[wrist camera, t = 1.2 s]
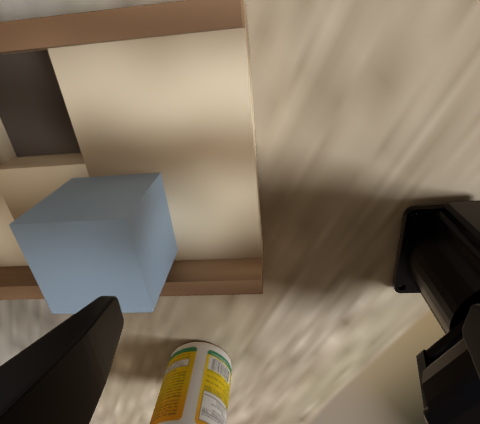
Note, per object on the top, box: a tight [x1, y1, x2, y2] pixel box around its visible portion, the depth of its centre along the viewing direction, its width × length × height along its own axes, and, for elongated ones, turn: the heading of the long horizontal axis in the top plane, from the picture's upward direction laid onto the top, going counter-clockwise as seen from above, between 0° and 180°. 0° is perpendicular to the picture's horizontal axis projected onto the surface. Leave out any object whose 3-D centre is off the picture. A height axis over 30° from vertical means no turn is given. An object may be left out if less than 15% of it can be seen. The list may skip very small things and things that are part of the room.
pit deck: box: [0, 0, 263, 300], centre depth 18 cm, size 14×20×4 cm
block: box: [9, 173, 178, 314], centre depth 17 cm, size 5×5×5 cm
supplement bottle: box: [150, 342, 232, 424], centre depth 24 cm, size 5×5×10 cm
